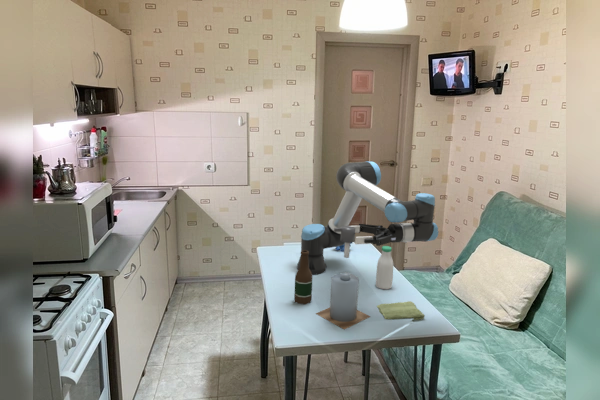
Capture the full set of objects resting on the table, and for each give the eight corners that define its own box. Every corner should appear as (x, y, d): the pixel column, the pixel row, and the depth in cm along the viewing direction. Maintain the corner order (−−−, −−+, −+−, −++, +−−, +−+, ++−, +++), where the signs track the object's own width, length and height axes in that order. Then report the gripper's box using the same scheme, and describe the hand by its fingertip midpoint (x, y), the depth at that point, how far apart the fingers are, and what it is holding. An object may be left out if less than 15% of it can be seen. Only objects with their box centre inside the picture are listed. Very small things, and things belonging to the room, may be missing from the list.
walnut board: (315, 316, 174) (315, 313, 174) (341, 304, 185) (341, 302, 185) (344, 332, 163) (344, 329, 163) (370, 319, 174) (370, 316, 173)
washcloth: (374, 308, 183) (374, 301, 183) (412, 306, 186) (413, 299, 186) (385, 324, 171) (386, 317, 170) (426, 321, 174) (426, 314, 173)
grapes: (351, 249, 255) (352, 229, 252) (352, 252, 248) (354, 233, 245) (332, 248, 255) (333, 229, 252) (332, 252, 248) (333, 232, 245)
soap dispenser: (324, 313, 174) (326, 273, 170) (342, 305, 181) (344, 266, 177) (343, 324, 166) (346, 282, 162) (362, 316, 173) (364, 275, 169)
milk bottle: (391, 290, 200) (395, 250, 196) (375, 288, 202) (378, 249, 197) (391, 283, 208) (395, 245, 203) (375, 282, 209) (378, 243, 204)
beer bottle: (305, 308, 180) (307, 255, 175) (290, 303, 184) (292, 251, 179) (314, 301, 187) (317, 250, 181) (300, 297, 191) (301, 246, 185)
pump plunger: (331, 257, 167) (333, 228, 164) (345, 253, 172) (346, 224, 169) (343, 262, 162) (344, 232, 160) (356, 257, 168) (358, 228, 165)
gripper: (413, 252, 159) (360, 255, 154) (386, 232, 182) (339, 234, 178) (415, 233, 157) (361, 235, 152) (387, 215, 181) (340, 216, 176)
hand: (349, 234), depth 165 cm, fingers open, 13 cm apart
